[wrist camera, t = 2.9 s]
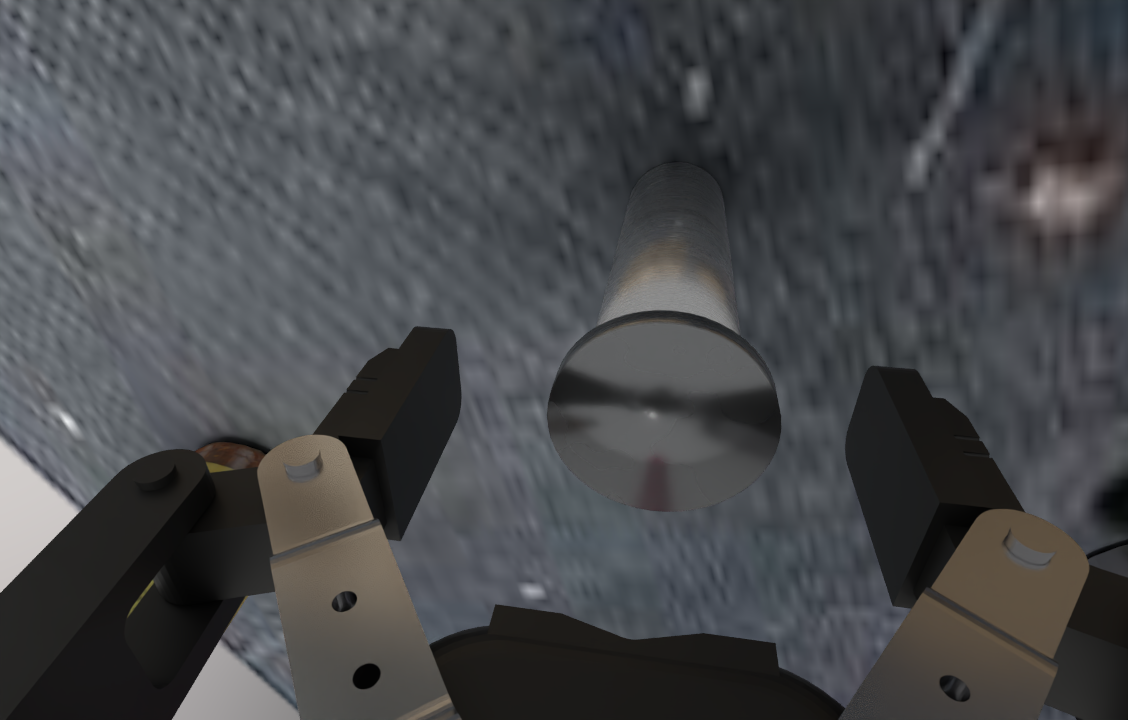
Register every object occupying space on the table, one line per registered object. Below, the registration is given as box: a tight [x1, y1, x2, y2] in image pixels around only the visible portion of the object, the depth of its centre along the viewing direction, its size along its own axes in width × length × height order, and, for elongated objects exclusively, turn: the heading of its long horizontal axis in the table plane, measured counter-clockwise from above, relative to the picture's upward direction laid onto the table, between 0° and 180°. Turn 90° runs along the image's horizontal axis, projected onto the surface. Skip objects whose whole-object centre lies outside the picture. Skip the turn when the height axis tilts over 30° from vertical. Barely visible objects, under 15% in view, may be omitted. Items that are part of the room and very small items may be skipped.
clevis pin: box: [547, 162, 781, 512], centre depth 17 cm, size 4×4×12 cm
